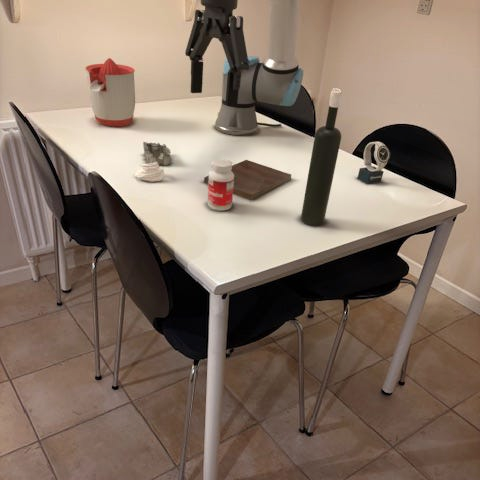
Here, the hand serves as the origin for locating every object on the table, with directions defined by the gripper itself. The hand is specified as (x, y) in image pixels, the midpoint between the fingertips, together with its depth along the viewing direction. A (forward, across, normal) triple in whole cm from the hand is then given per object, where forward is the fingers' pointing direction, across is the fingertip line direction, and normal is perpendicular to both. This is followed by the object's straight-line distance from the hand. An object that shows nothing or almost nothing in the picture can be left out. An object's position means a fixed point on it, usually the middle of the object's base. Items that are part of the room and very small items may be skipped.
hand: (213, 99), depth 108 cm
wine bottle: (+24, +21, +17) cm, 36 cm away
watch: (+22, +10, +52) cm, 57 cm away
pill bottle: (+24, +4, +2) cm, 25 cm away
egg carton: (+23, -32, +4) cm, 39 cm away
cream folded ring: (+24, -20, -5) cm, 32 cm away
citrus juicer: (+21, -69, +8) cm, 72 cm away
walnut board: (+23, -6, +18) cm, 30 cm away
